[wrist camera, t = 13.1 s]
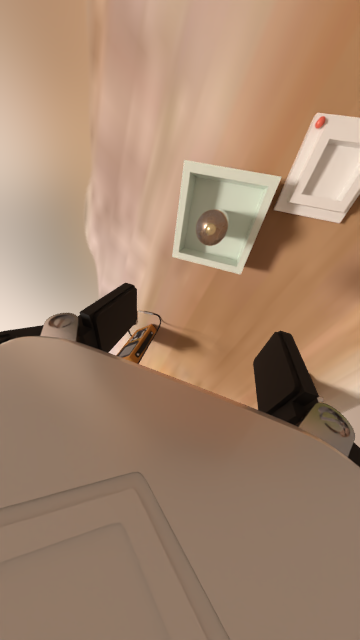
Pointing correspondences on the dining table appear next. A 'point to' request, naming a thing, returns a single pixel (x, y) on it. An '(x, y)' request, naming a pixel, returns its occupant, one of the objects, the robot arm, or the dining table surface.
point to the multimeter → (138, 343)
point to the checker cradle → (324, 170)
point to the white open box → (229, 195)
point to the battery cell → (212, 226)
